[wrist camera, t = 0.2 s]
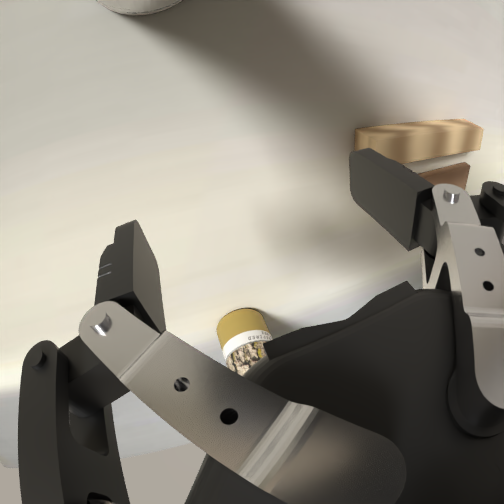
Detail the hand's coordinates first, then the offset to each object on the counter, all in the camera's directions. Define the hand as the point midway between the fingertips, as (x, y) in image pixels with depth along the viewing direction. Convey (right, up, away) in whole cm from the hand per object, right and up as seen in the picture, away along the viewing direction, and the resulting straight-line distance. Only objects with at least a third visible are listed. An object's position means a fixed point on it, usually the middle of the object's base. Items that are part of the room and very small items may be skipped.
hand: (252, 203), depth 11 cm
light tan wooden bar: (+20, +13, +21) cm, 32 cm away
